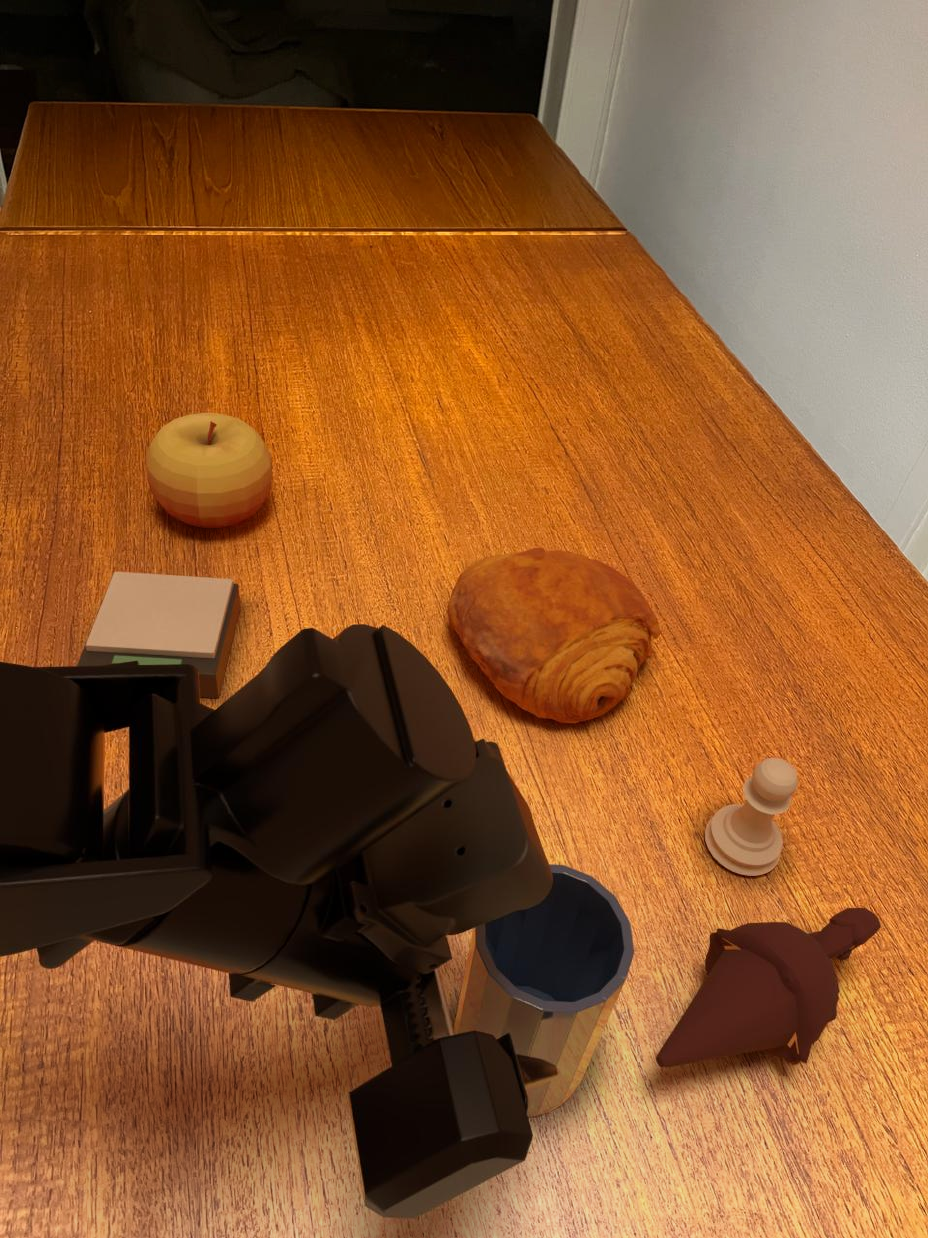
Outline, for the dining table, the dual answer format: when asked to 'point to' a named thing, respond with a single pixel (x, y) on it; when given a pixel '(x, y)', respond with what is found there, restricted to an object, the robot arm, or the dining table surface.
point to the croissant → (554, 630)
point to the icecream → (767, 990)
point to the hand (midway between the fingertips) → (518, 973)
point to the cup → (550, 979)
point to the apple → (209, 469)
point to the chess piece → (753, 821)
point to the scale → (166, 624)
